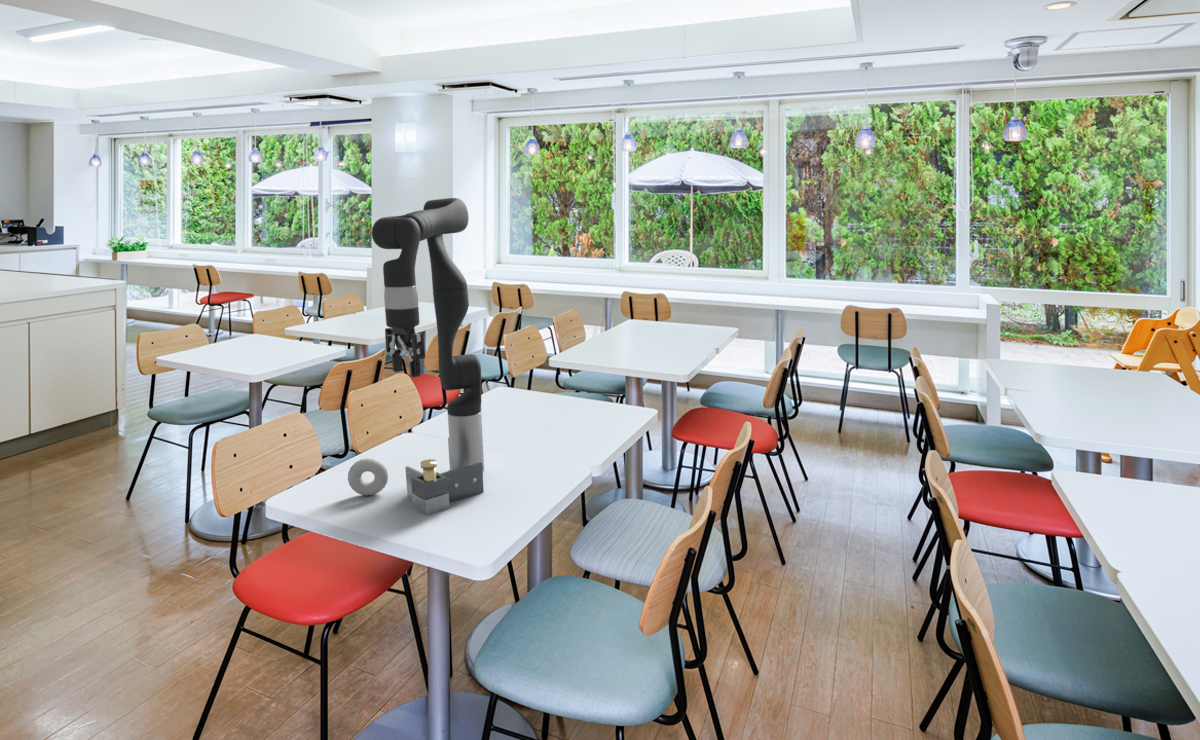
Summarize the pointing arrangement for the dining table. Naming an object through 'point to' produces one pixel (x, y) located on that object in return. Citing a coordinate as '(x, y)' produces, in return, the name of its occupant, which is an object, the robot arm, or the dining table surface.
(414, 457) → the dining table surface
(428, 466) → the pin
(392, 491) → the dining table surface
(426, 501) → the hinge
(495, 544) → the dining table surface
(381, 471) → the donut
